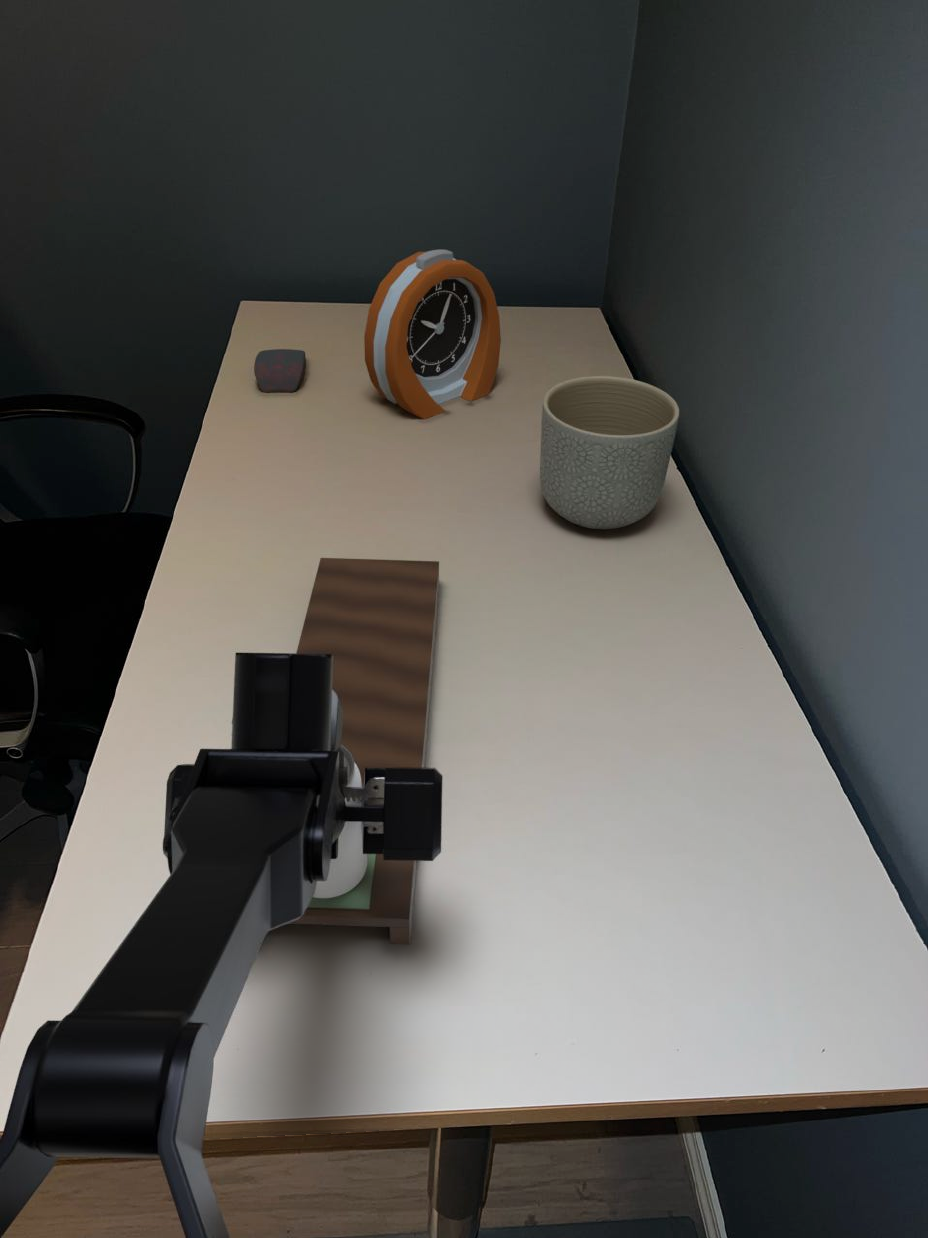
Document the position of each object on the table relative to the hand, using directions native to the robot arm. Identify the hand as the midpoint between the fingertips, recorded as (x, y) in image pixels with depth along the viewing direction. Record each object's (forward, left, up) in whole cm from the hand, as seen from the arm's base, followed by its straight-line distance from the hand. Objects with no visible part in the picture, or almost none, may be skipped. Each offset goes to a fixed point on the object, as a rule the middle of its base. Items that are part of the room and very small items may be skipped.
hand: (323, 801), depth 72 cm
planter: (+66, -5, -10) cm, 67 cm away
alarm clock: (+89, +28, -10) cm, 94 cm away
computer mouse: (+85, +55, -10) cm, 102 cm away
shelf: (+17, +6, -10) cm, 21 cm away
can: (-1, -1, -7) cm, 7 cm away
